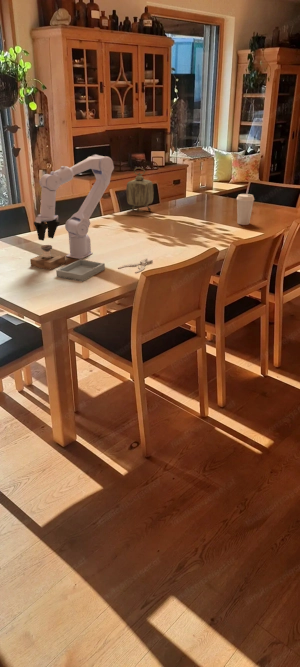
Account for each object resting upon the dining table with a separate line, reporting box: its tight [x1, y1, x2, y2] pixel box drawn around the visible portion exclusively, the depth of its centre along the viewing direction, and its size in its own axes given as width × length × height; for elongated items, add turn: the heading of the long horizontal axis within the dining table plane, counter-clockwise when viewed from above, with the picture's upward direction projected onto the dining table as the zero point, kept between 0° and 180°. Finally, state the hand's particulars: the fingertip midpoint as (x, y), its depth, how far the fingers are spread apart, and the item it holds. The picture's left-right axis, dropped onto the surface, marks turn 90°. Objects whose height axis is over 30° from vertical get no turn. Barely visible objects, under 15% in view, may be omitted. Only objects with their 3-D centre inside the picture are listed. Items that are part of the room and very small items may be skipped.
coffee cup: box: [236, 193, 255, 226], centre depth 269 cm, size 10×10×15 cm
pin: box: [40, 244, 53, 260], centre depth 206 cm, size 4×4×8 cm
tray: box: [55, 258, 106, 282], centre depth 198 cm, size 16×12×2 cm
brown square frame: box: [30, 253, 66, 271], centre depth 207 cm, size 10×10×3 cm
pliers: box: [117, 258, 154, 274], centre depth 206 cm, size 10×2×15 cm
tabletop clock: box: [125, 166, 155, 213], centre depth 293 cm, size 14×9×25 cm, turn 66°
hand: (46, 239), depth 206 cm, fingers open, 7 cm apart
